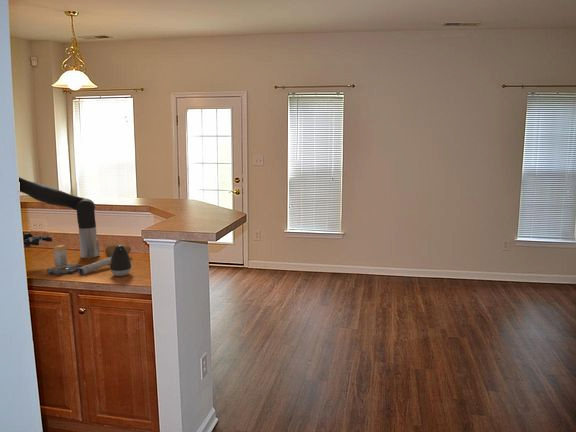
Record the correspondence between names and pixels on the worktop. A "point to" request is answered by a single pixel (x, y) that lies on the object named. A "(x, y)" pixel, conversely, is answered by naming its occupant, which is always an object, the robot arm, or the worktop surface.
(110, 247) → the potato
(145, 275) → the worktop surface
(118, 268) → the black egg-shaped piece
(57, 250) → the grey translucent cylinder
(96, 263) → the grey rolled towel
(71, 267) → the sprocket
